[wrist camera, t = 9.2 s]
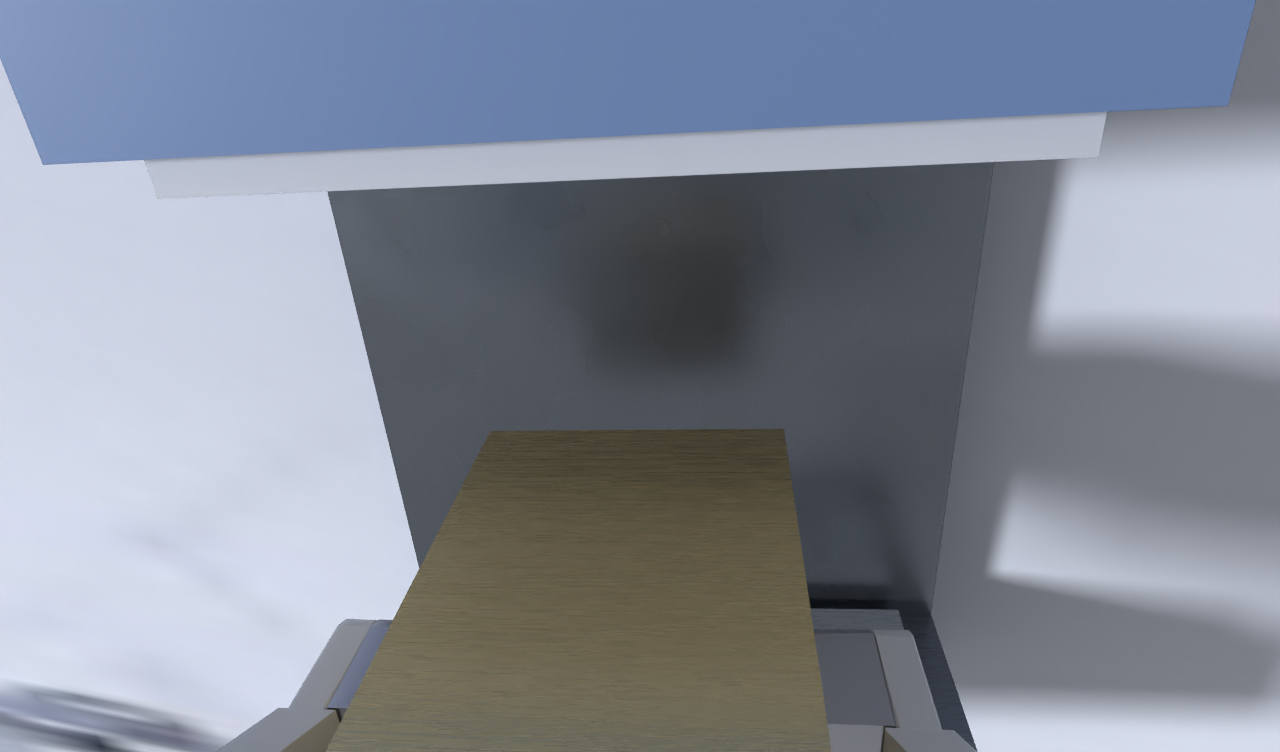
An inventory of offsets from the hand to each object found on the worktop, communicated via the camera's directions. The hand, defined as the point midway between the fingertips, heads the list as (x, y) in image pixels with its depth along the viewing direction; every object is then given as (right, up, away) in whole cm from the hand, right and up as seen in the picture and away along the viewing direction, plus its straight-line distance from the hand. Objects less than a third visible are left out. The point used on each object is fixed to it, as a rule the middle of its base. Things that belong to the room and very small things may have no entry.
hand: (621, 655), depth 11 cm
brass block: (0, +1, +3) cm, 3 cm away
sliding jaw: (0, +11, +3) cm, 11 cm away
